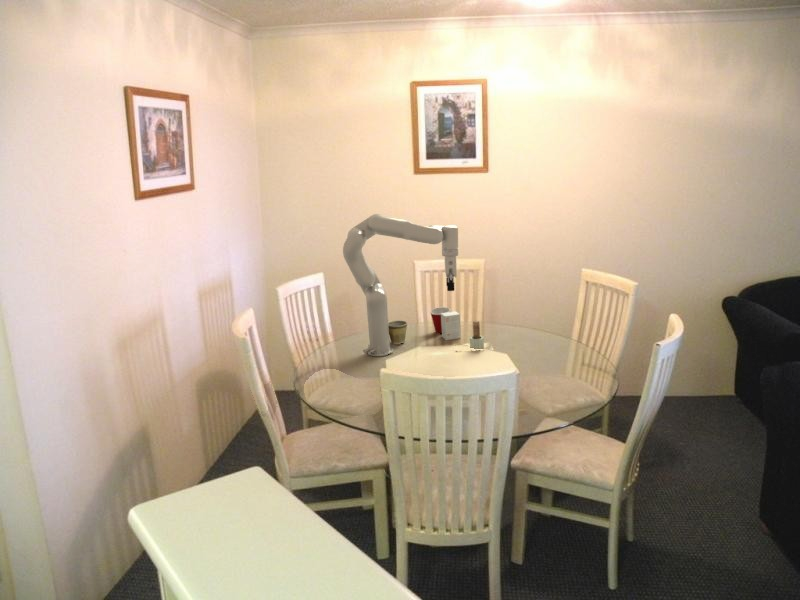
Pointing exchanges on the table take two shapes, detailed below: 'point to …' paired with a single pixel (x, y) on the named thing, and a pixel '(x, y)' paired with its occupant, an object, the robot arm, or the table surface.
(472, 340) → the jar
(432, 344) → the table surface
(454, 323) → the small box
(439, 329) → the plastic cup
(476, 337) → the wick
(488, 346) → the trivet
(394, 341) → the ceramic cup
